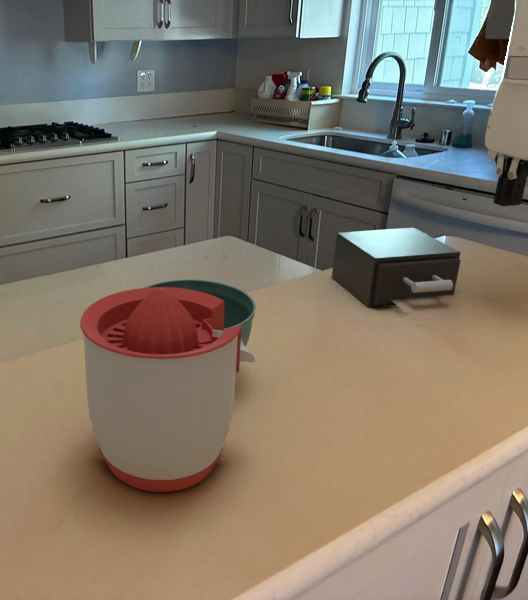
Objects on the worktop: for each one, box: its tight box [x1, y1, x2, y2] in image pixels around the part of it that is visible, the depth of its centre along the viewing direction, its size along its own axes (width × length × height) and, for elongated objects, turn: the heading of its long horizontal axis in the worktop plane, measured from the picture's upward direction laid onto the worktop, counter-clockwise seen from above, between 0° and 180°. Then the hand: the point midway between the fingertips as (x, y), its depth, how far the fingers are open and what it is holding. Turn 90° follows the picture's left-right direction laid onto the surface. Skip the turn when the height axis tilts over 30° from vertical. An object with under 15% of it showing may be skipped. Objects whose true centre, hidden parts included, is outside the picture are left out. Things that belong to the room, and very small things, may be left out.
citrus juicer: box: [79, 287, 256, 493], centre depth 63 cm, size 16×17×20 cm
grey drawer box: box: [331, 227, 462, 309], centre depth 106 cm, size 14×15×9 cm
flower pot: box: [143, 278, 257, 348], centre depth 80 cm, size 16×16×11 cm
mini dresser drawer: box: [373, 258, 462, 305], centre depth 102 cm, size 17×13×7 cm
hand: (506, 203), depth 89 cm, fingers closed
